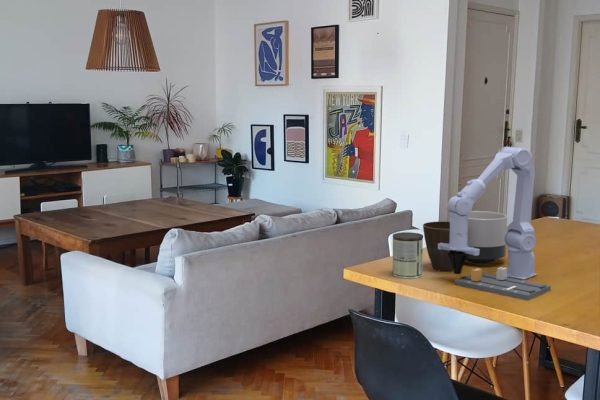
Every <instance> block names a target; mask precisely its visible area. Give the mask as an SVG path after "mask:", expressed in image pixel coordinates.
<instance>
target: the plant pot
mask: <svg viewBox="0 0 600 400" xmlns="http://www.w3.org/2000/svg"><path fill="white" fill-rule="evenodd" d="M422 227H423V228H422V229H423V238H424V241H425V246H426V251H427V254H428V258H429V260H430V264H431V266H432V269H433V270H434V269H435V271H438V270H440V272H450V271H451V270H452V271H454V270H453V266H452V263H451V260H450V258H449V257H448V253H449V252H450V251H449V250H443V249H441V250H440V249H438V244H439V243H447V244H449V242H450V221H430V222H424V223H423V224H422ZM452 271H451V272H452Z"/></svg>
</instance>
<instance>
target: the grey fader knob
mask: <svg viewBox="0 0 600 400" xmlns="http://www.w3.org/2000/svg"><path fill="white" fill-rule="evenodd" d="M507 273H508V267H503V266H500V267H498V268H496V275H497V278H496V279H498V280H504V279H507Z"/></svg>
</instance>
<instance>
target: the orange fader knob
mask: <svg viewBox="0 0 600 400" xmlns="http://www.w3.org/2000/svg"><path fill="white" fill-rule="evenodd" d="M470 271H471V274H470V275H471V280H472V281H480V280H482V273H483V269H482V268H477V267H476V268H472V269H471V270H470Z"/></svg>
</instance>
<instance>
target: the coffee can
mask: <svg viewBox="0 0 600 400" xmlns="http://www.w3.org/2000/svg"><path fill="white" fill-rule="evenodd" d="M423 238H424V234H422V233H418V232H411V231H410V232H407V231H405V232H396V233H393V234H392V276H393V275H394V276H393V277H395V278H398V277H399V279H406V280H413V278H414V279H420V278H422V277H423V250H424V249H423V248H424V247H423V245H424V244H423V242H424V241H423ZM421 276H422V277H421ZM419 277H420V278H419Z"/></svg>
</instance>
